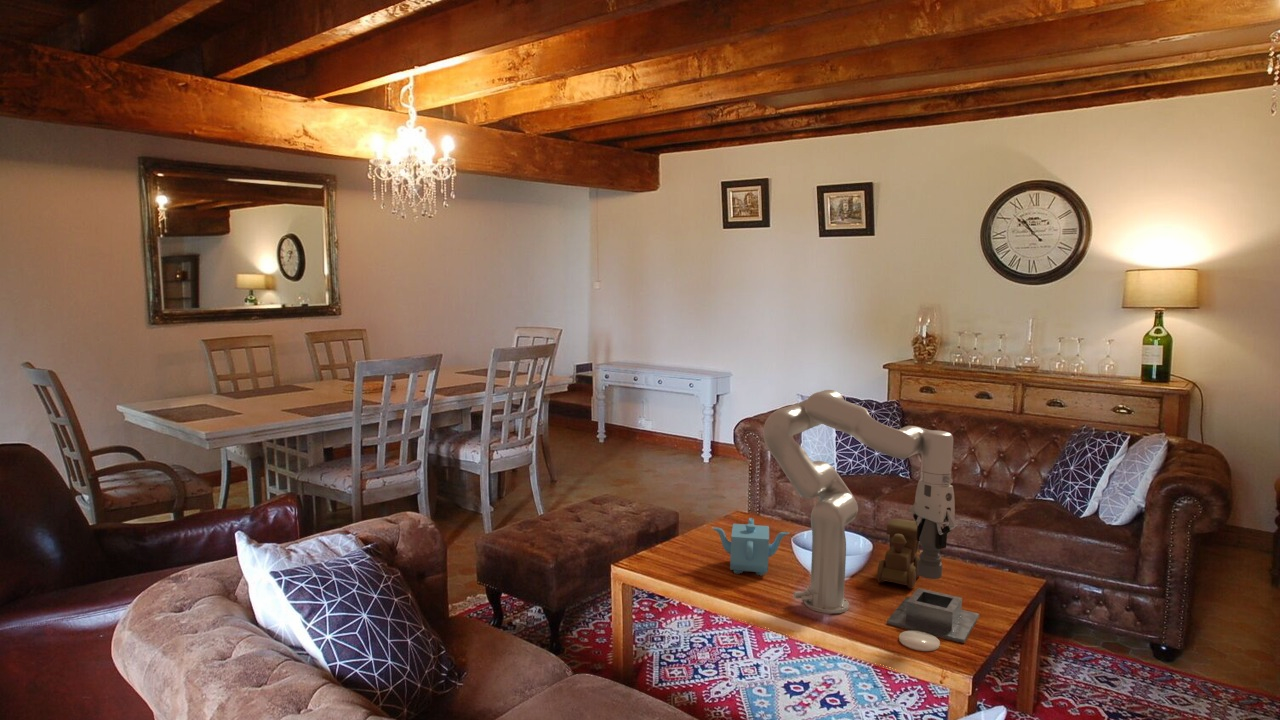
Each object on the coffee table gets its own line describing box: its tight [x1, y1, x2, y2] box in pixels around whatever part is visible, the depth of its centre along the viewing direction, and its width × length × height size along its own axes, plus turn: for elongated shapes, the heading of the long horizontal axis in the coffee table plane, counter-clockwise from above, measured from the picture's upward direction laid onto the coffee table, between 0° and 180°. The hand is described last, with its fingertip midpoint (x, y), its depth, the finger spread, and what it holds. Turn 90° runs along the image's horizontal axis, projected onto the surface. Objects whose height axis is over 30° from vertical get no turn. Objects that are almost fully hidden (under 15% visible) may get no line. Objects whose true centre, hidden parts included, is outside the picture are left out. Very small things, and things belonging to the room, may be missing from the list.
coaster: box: [898, 630, 941, 652], centre depth 205 cm, size 10×10×1 cm
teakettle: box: [711, 517, 790, 576], centre depth 255 cm, size 19×19×15 cm
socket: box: [886, 587, 980, 644], centre depth 218 cm, size 20×20×6 cm
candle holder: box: [917, 485, 943, 580], centre depth 209 cm, size 6×6×25 cm
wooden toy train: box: [876, 518, 920, 589], centre depth 248 cm, size 20×11×17 cm, turn 151°
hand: (931, 543), depth 209 cm, fingers closed on candle holder, 5 cm apart
